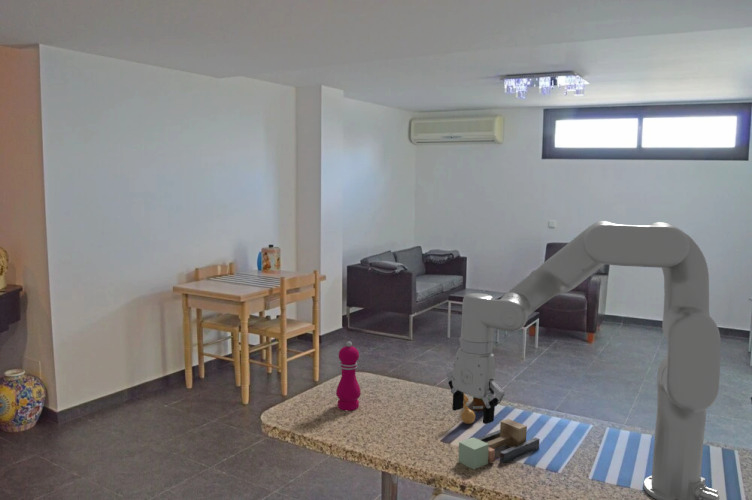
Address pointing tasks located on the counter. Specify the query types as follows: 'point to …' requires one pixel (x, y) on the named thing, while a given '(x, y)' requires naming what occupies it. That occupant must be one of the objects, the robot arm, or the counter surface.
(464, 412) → the figurine
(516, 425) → the tan pedestal
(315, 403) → the counter surface
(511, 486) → the counter surface
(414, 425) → the counter surface
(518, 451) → the dark grey rails
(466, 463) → the block
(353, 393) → the pepper mill
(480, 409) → the food container
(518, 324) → the robot arm
